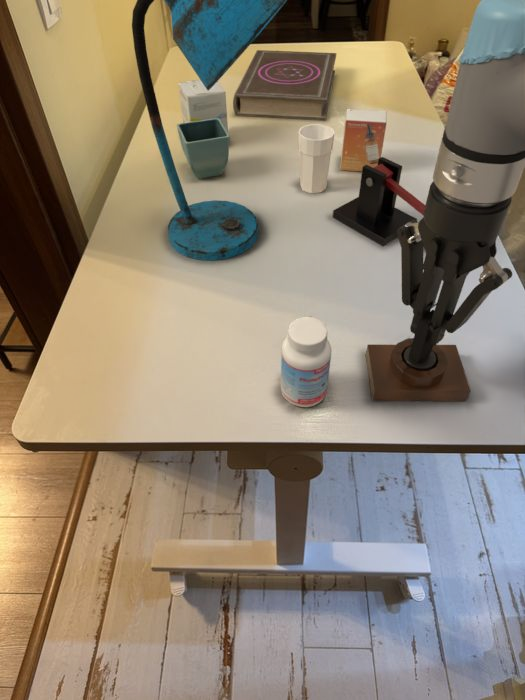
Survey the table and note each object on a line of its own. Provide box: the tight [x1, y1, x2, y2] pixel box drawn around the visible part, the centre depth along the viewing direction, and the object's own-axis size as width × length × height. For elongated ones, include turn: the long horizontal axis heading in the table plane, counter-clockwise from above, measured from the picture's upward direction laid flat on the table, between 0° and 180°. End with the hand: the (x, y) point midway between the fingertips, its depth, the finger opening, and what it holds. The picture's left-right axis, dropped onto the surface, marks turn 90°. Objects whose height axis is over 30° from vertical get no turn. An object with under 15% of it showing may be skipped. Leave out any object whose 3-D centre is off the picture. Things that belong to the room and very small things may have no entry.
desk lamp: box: [131, 0, 288, 262], centre depth 76 cm, size 16×22×45 cm
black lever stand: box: [332, 156, 418, 247], centre depth 90 cm, size 12×9×11 cm
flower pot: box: [176, 118, 231, 180], centre depth 104 cm, size 9×9×9 cm
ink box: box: [178, 79, 229, 133], centre depth 113 cm, size 9×9×12 cm
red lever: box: [374, 164, 426, 216], centre depth 86 cm, size 14×5×2 cm, turn 41°
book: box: [232, 49, 337, 121], centre depth 133 cm, size 30×22×5 cm
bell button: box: [403, 346, 436, 371], centre depth 67 cm, size 4×4×2 cm
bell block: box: [365, 337, 471, 402], centre depth 68 cm, size 12×8×4 cm, turn 89°
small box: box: [339, 108, 388, 172], centre depth 104 cm, size 8×6×10 cm
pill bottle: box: [280, 316, 332, 408], centre depth 64 cm, size 6×6×11 cm
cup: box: [298, 123, 335, 194], centre depth 99 cm, size 7×7×11 cm
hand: (419, 354), depth 66 cm, fingers closed
